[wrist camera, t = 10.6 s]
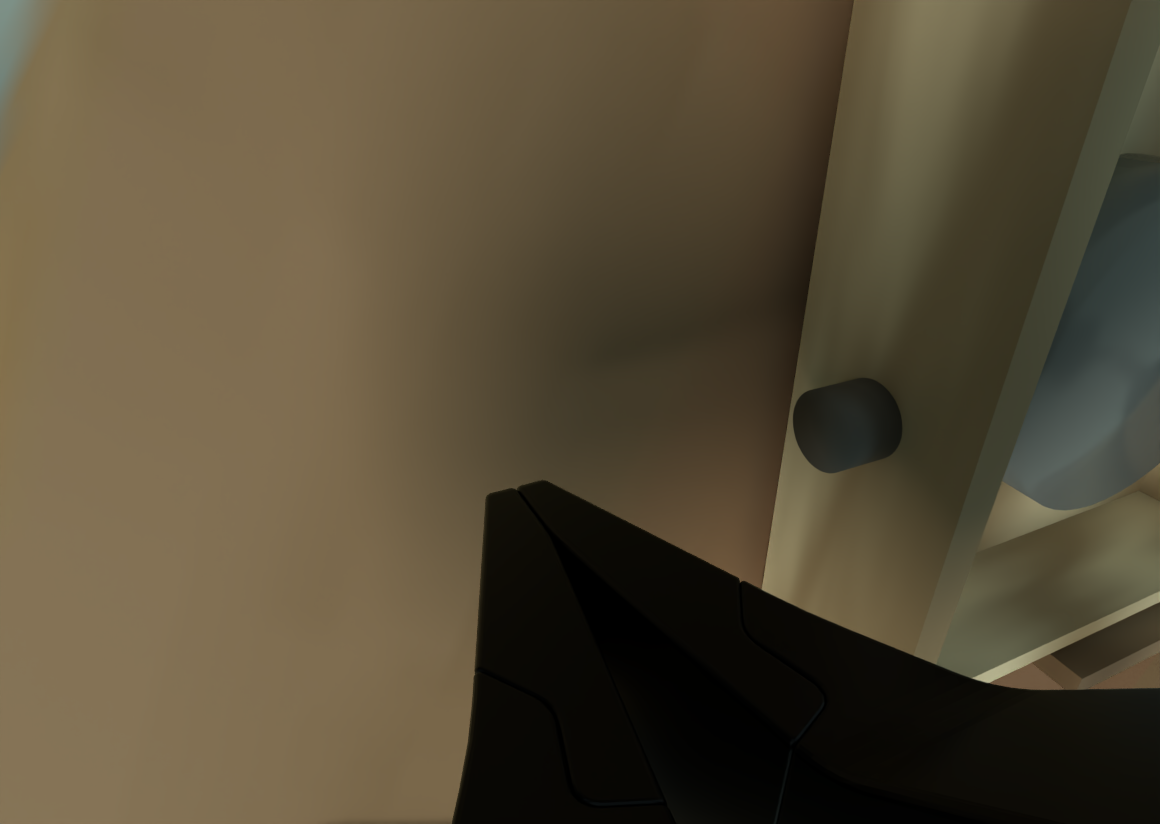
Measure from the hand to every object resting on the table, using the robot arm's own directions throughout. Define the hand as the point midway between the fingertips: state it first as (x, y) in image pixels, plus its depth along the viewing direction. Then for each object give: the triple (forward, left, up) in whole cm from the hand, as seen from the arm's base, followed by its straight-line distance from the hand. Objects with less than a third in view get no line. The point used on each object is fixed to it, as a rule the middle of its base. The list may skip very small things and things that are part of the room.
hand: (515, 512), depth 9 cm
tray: (-13, 0, -2) cm, 13 cm away
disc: (-13, 0, -1) cm, 13 cm away
